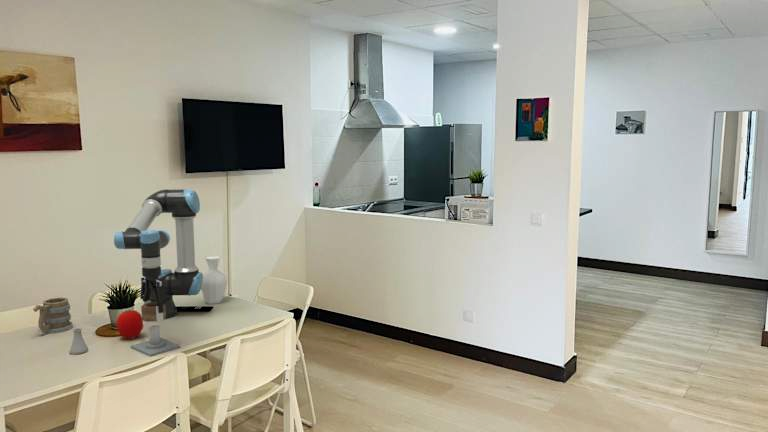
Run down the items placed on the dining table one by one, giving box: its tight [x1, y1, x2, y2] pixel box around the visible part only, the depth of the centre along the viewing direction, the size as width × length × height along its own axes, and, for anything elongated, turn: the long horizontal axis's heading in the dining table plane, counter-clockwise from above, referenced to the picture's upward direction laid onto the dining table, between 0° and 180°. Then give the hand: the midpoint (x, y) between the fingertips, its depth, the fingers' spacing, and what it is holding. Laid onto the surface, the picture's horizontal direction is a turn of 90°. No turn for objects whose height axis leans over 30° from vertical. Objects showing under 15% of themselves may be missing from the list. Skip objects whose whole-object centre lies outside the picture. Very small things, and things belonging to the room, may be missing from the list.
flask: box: [68, 327, 89, 355], centre depth 247 cm, size 7×7×10 cm
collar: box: [140, 302, 166, 323], centre depth 250 cm, size 9×9×6 cm
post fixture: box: [130, 324, 181, 357], centre depth 252 cm, size 16×14×10 cm
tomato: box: [115, 309, 144, 339], centre depth 265 cm, size 11×11×13 cm
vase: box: [200, 255, 228, 305], centre depth 322 cm, size 14×14×25 cm
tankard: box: [32, 297, 74, 334], centre depth 273 cm, size 20×13×15 cm, turn 168°
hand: (153, 317), depth 251 cm, fingers closed on collar, 9 cm apart
